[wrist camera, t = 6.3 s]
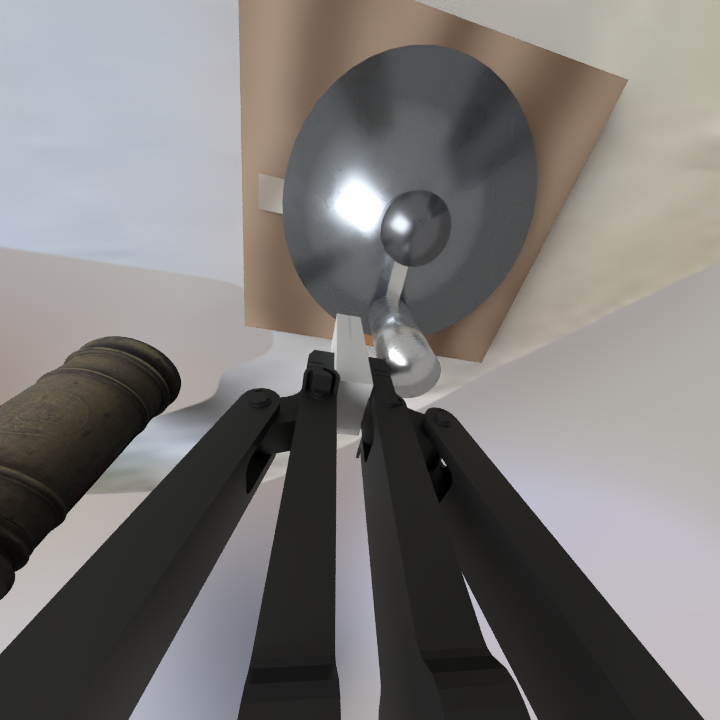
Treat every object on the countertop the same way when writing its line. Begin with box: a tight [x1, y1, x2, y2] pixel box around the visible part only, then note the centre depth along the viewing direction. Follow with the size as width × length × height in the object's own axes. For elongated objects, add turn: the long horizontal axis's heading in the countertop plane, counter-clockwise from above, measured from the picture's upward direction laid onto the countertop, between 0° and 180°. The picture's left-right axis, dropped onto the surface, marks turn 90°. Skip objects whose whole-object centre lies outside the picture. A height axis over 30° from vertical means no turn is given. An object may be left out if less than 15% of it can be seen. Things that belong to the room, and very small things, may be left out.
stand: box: [239, 0, 628, 363], centre depth 20 cm, size 22×20×3 cm
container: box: [0, 336, 181, 600], centre depth 20 cm, size 9×9×18 cm
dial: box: [282, 45, 537, 398], centre depth 14 cm, size 16×16×10 cm
